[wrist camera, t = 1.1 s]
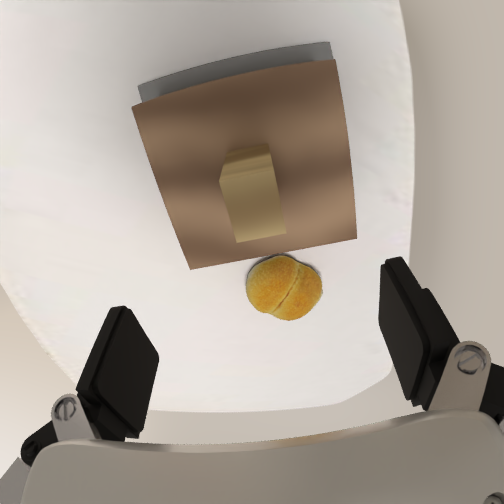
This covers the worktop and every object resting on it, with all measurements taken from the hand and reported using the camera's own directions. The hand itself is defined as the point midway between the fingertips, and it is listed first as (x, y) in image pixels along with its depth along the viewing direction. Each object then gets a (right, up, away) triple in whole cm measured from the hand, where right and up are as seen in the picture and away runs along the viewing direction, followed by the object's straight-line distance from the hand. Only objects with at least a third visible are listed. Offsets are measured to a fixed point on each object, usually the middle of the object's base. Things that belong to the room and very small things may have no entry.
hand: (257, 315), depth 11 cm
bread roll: (+4, -1, +28) cm, 28 cm away
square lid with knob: (0, +12, +18) cm, 21 cm away
